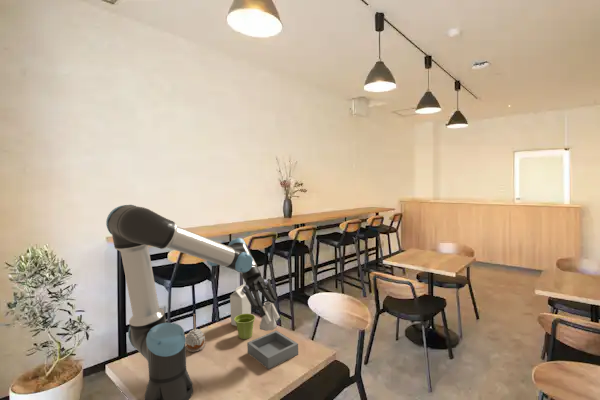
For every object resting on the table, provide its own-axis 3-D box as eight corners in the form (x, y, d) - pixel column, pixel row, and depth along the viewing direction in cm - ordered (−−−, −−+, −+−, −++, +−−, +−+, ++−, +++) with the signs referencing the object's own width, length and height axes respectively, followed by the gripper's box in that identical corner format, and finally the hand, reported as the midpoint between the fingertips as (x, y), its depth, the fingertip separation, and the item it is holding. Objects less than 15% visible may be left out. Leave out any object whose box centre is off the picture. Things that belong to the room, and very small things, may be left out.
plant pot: (233, 332, 151) (233, 315, 150) (253, 329, 154) (253, 312, 153) (236, 343, 142) (235, 324, 141) (257, 339, 145) (256, 320, 144)
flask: (274, 332, 127) (273, 307, 126) (256, 330, 128) (256, 306, 127) (278, 323, 134) (278, 300, 133) (262, 321, 136) (261, 299, 134)
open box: (268, 369, 123) (268, 358, 123) (247, 352, 134) (247, 342, 134) (298, 354, 133) (298, 343, 132) (276, 340, 144) (276, 330, 144)
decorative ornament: (209, 345, 140) (207, 312, 139) (195, 354, 134) (193, 320, 132) (196, 341, 144) (194, 309, 143) (182, 349, 137) (180, 316, 136)
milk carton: (231, 324, 159) (229, 287, 157) (240, 318, 165) (238, 282, 163) (242, 328, 155) (241, 289, 154) (251, 321, 162) (250, 285, 160)
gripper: (262, 270, 146) (286, 318, 136) (229, 279, 136) (252, 332, 125) (268, 261, 142) (293, 310, 131) (235, 270, 131) (259, 323, 120)
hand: (273, 320), depth 128 cm, fingers closed on flask, 3 cm apart
